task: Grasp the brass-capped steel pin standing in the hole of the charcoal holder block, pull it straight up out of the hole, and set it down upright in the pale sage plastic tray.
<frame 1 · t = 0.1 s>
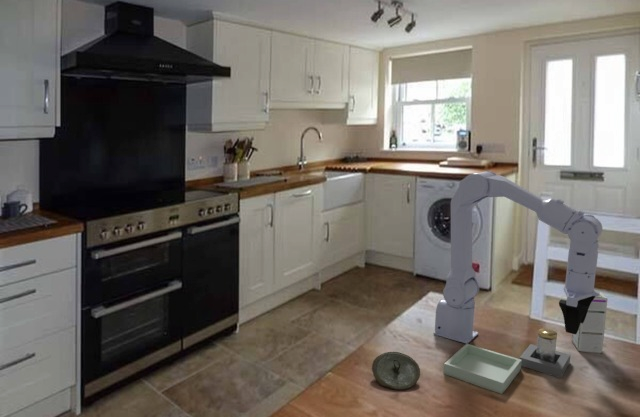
hand: (574, 327, 110), 10 cm above the table, tool pointing down, fingers open, 7 cm apart
lid: (395, 379, 106), on the table
pin: (544, 364, 113), resting in holder
tray: (482, 371, 109), on the table
holder: (544, 363, 113), on the table
syrup box: (586, 348, 122), on the table
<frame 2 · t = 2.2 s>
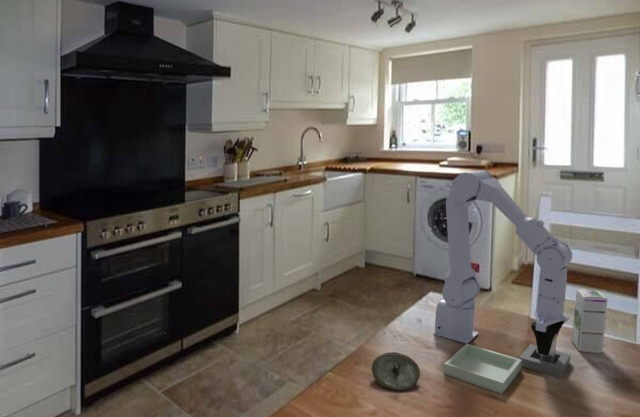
hand: (545, 350, 113), 3 cm above the table, tool pointing down, fingers closed on pin, 4 cm apart
pin: (544, 363, 113), resting in holder, touching gripper
everything else where it was.
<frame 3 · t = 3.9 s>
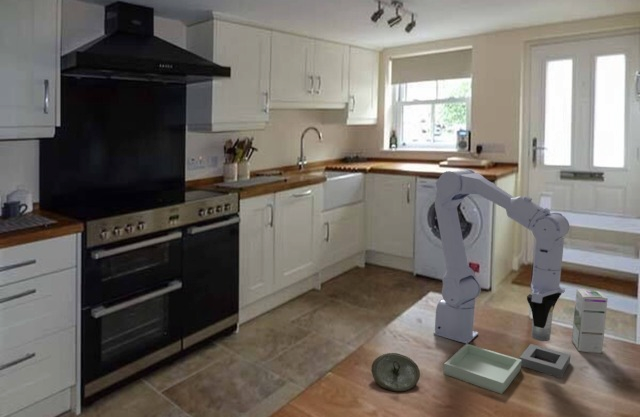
hand: (541, 323, 111), 10 cm above the table, tool pointing down, fingers closed on pin, 4 cm apart
pin: (540, 337, 112), point 7 cm above the table, touching gripper
everything else where it was.
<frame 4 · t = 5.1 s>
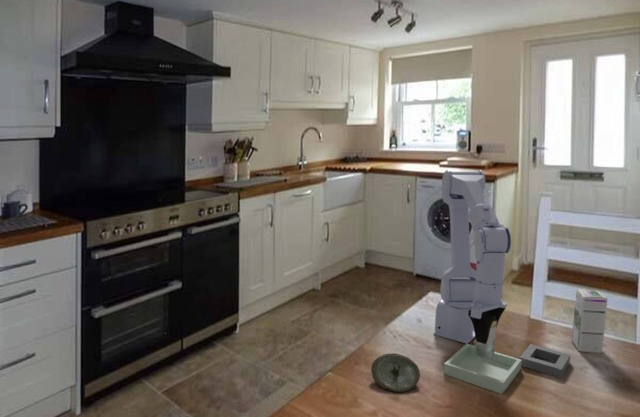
hand: (485, 338, 108), 8 cm above the table, tool pointing down, fingers closed on pin, 4 cm apart
pin: (484, 353, 108), point 5 cm above the table, touching gripper
everything else where it was.
when the fingers open (5 cm above the table, at t = 6.0 s): pin stays where it is, resting on tray.
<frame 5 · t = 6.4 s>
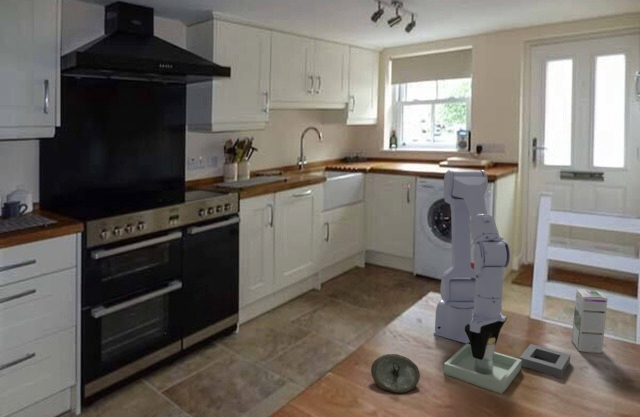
hand: (484, 351, 108), 5 cm above the table, tool pointing down, fingers open, 7 cm apart
pin: (483, 370, 109), point 1 cm above the table, touching tray
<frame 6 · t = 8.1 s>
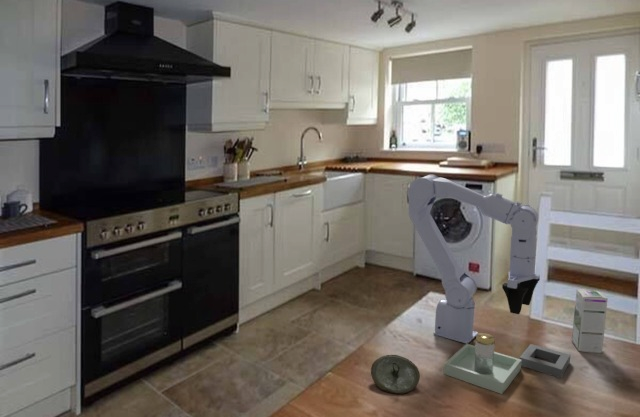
hand: (520, 308, 120), 10 cm above the table, tool pointing down, fingers open, 7 cm apart
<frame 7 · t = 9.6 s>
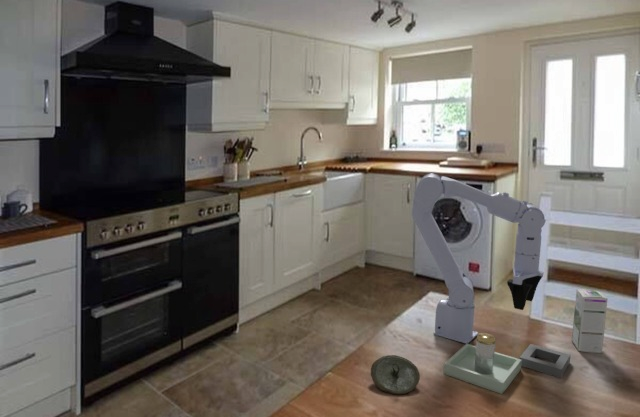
hand: (523, 304, 122), 10 cm above the table, tool pointing down, fingers open, 7 cm apart
at the end: pin inside the target area on the tray (0.2 cm from its centre), point 0.5 cm above the tray's base; the gripper is holding nothing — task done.
